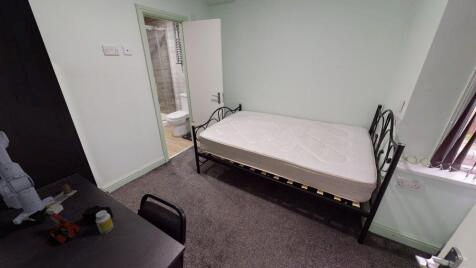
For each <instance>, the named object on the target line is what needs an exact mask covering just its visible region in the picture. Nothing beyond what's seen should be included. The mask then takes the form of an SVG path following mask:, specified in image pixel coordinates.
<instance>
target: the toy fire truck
mask: <svg viewBox="0 0 476 268" xmlns="http://www.w3.org/2000/svg"><path fill="white" fill-rule="evenodd" d="M49 217H50V219H51V221H52V223H53V224H54V226H55V229H52V230H50V231H49V234H50V236H51V237H52V238H53V239H54V240H57V241H58V242H59V244H63V243H65V242H66V241H67V239H68V237H69V238H71V239H73V238H74V237H76V234H78V233H79V232H80V231H81V229H80V227H79V225H77V224H74V223H73V222H72V221H71V220H69V219H67V218H65V217H63V216H61V215H59V214H56V213H53V214H51V215H49Z"/></svg>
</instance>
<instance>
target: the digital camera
mask: <svg viewBox="0 0 476 268" xmlns="http://www.w3.org/2000/svg"><path fill="white" fill-rule="evenodd" d="M102 210H106V211H107V213H108V214H110V217H111V219H112V220H113V218H114V214H113V212H112V209H111V207H110V206H100V205H93V206H91V207H88V208H86V209H85V210H84V212H82V213H81V214H82V218H83V220H84V222H85V223H84V224H85V225H87V226H89V225H90V226H91V225H94V226H97V224H96V214H97V213H98V212H100V211H102Z"/></svg>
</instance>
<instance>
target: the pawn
mask: <svg viewBox="0 0 476 268" xmlns="http://www.w3.org/2000/svg"><path fill="white" fill-rule="evenodd" d="M61 189H62V192H64V195H67V194H70V193H71V192H72V190H73V189H71V187H70V185H69V184H63V185H62V187H61Z"/></svg>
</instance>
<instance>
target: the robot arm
mask: <svg viewBox="0 0 476 268" xmlns="http://www.w3.org/2000/svg"><path fill="white" fill-rule="evenodd" d="M9 143H10V140H9V138H8V136H7V135H6V133H5V132H4V131H2V130H1V131H0V195H1V197H2V198H3V201H4V203H5V204H6V206H7V207H8V208H14V209H18V210H19V209H21V208H22V210H23V211H22V212H21V213H20V214H18V216H17V217H15V218H14V219H13V220H12V222H13V224H14V225H20V224H22V222H23V221H25V220H24V219H25V218H27V217H29V218H32V219H34V220H35V222H37V223H38V224H44V223H45V222H46V214H47V213H46V210H47V208H46V207H47V206H45V205H46V204H47V203H49V202H50V201H55V200H54V199H53V198H54V197H53V196H48V197H46V198H44V199H42V200H41V197H40V196H39V194H38V193H37V191H36V189H35V183H34V181H33V179H32V178H31V176H29V174H27V173H26V172H25V171H24V170H23V169H22V167H21V166H20V164H19V163H17V162H13V161H12V159H11V158H10V155H9V154H8V151H7V150H6V149H7V148H8V147H9ZM34 220H33V221H34Z"/></svg>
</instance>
